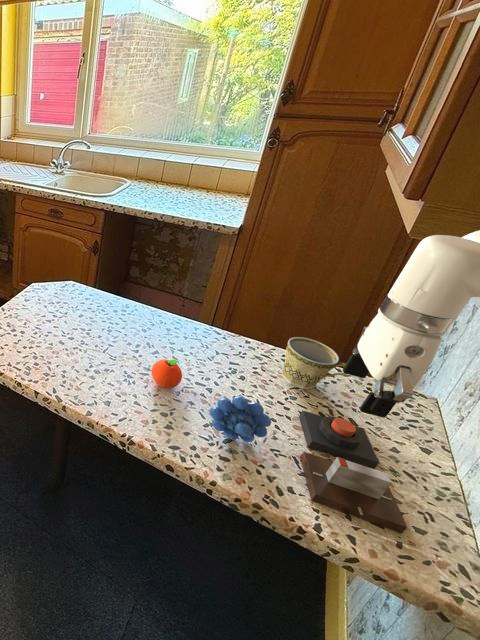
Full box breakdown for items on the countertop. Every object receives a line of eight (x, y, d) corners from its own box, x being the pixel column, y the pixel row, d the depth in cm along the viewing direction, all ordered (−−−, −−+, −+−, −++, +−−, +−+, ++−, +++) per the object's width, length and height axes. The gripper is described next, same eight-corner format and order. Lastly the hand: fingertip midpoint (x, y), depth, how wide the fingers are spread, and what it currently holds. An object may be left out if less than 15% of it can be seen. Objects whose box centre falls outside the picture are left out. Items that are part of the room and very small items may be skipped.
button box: (359, 435, 88) (367, 422, 86) (374, 469, 81) (383, 456, 79) (298, 416, 92) (305, 404, 90) (307, 447, 85) (315, 435, 83)
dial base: (378, 480, 79) (384, 474, 78) (403, 538, 70) (410, 531, 69) (298, 454, 84) (302, 447, 83) (312, 504, 75) (317, 498, 74)
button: (349, 427, 86) (353, 421, 85) (354, 440, 83) (358, 434, 82) (328, 420, 87) (331, 415, 86) (333, 433, 84) (336, 427, 83)
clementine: (162, 368, 106) (168, 347, 103) (186, 385, 101) (194, 364, 97) (142, 380, 102) (148, 359, 99) (167, 398, 97) (174, 376, 94)
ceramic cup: (271, 381, 102) (286, 351, 97) (276, 360, 109) (290, 331, 104) (336, 408, 95) (356, 377, 90) (337, 383, 101) (355, 353, 97)
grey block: (374, 490, 75) (388, 472, 73) (378, 499, 74) (393, 482, 71) (325, 473, 78) (337, 456, 76) (328, 482, 76) (340, 464, 74)
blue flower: (205, 448, 85) (222, 409, 79) (198, 422, 91) (214, 384, 85) (267, 462, 82) (290, 422, 77) (256, 435, 88) (276, 396, 82)
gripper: (480, 356, 53) (411, 440, 61) (422, 292, 67) (372, 368, 75) (406, 338, 56) (349, 421, 64) (365, 281, 70) (322, 355, 78)
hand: (361, 393), depth 70 cm, fingers open, 9 cm apart
